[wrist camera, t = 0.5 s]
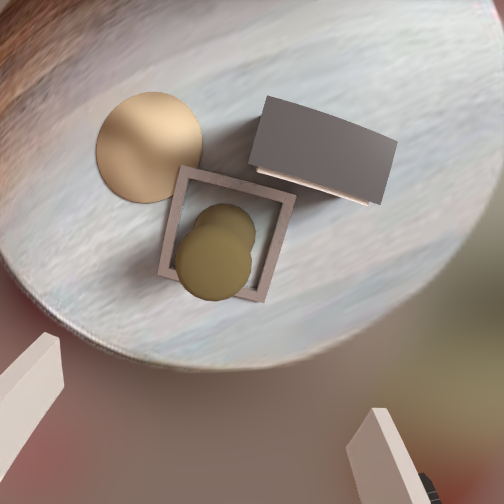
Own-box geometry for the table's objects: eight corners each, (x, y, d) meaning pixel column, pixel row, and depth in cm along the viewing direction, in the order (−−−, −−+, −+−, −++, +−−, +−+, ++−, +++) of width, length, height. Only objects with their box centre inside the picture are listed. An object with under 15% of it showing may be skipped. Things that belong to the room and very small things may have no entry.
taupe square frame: (182, 165, 28) (181, 165, 28) (295, 194, 29) (296, 195, 28) (159, 272, 31) (157, 274, 30) (263, 299, 32) (264, 302, 31)
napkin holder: (262, 114, 27) (267, 95, 19) (361, 146, 28) (397, 141, 20) (247, 169, 28) (246, 168, 21) (347, 198, 29) (378, 210, 21)
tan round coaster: (113, 86, 26) (112, 86, 26) (216, 103, 27) (215, 102, 26) (88, 190, 29) (87, 190, 28) (186, 214, 30) (185, 214, 29)
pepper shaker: (197, 267, 31) (172, 317, 20) (189, 206, 29) (156, 228, 19) (258, 262, 31) (262, 311, 20) (252, 200, 29) (254, 218, 19)
